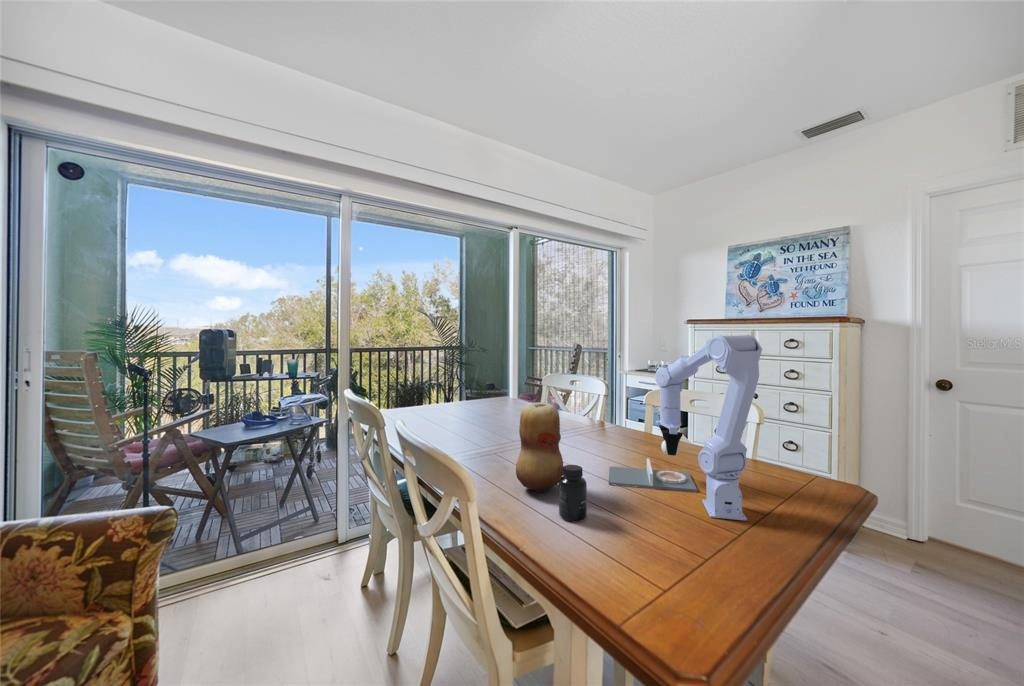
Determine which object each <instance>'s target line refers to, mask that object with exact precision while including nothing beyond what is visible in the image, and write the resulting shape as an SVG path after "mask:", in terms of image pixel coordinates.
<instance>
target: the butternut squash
mask: <svg viewBox="0 0 1024 686" xmlns="http://www.w3.org/2000/svg"><path fill="white" fill-rule="evenodd" d="M560 420H561V419H560V414H559V410H558V409H557V408H556V407H555V406H554V405H553V404H551V403H548V402H546V401H545V402H532V403H529V404H527V405H526V406H524V407H523V408H522V410H521V412H520V419H519V427H518V429H519V430H518V431H519V433H518V434H519V439H520V452H519V454H518V457H517V460H516V464H515V476H516V478H517V481H518V482H519V483H520V484H521V486H522V487H524V488H527V489H530V490H533V491H535V490H536V492H537V491H543V492H547V491H546V490H551V489H552V488H554V487H555V486H558V485H559V480H560V478H562V477H563V475H562V472H563V467H564V460H563V456H562V454H561V450H560V445H559V444H560V441H561V438H562V436H561V426H560V425H561V421H560Z"/></svg>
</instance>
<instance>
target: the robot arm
mask: <svg viewBox="0 0 1024 686" xmlns="http://www.w3.org/2000/svg"><path fill="white" fill-rule="evenodd" d="M762 353H763V348H762V346H761V345H760V343H759V341H758V340H757V338H755V336H753V335H751V334H742V335H739V334H738V335H722V334H717V335H714V336H713V337H711V338H709V339H708V340H706V343H705V344H704V345H703V346H702V347H700V349H698V350H697V351H695V352H693V354H692V355H690V356H689V355H679V356H678V357H677V358H678V359H677V360H675V361H673V362H671V363H669V364H668V366H666V367H664V366H659V367H658V369H657V370H656V371H655V382H656V384H657V385H658V386H659V420H655V424H656V425H659V426H658V428H659V429H660V431H661V434H662V439H663V441H664V440H665V442H666V448H667V453H668V455H674V456H677V454H678V453H677V448H678V445H679V442H680V440H681V438H682V437H683V433H684V432H682V431H679V430H680V427H681V426H682V420H681V415H682V414H681V392H683V385H684V383H685V380H687V379H688V378H690V377H693V376H694V375H696V374H697V373H698V371H699V367H700V366H703V365H705V364H707V363H709V362H712V361H714V363H715V364H716V365H717V366H718V367H719V368H720V369H721V371H723V373H725V374H727V375H728V377H729V381H728V385H727V389H726V392H725V396H724V400H723V404H722V407H721V411H720V415H719V418H718V421H717V422H718V423H717V427H716V429H715V434H714V435H713V436H712V437H710V438H709V439H708V440H707V441H706V442H704V445H703V448H702V449H701V450H700V451H699V453H698V457H697V459H698V465H699V466H700V467H699V468H701V470H702V471H703V474H705V479H706V480H705V482H706V483H705V485H706V486H705V488H706V490H705V491H706V492H705V494H706V495H705V497H706V498H705V499H704V498H703V499H702V500H701V502H702V504H703V506H704V507H705V510H706V513H708V516H709V517H710V518H715V519H724V520H725V519H728V520H736V521H747V520H748V518H747V516H746V515H745V514H744V513H743V494H742V493H743V492H742V491H741V489H740V487H739V486H740V484H739V483H740V481H739V480H740V476H742V471H744V470H745V469H746V467H747V452H748V448H747V447H746V446H745V445H744V443H742V437H743V433H744V431H745V427H746V425H747V424H746V423H747V421H748V416H749V412H750V410H751V406H752V403H753V400H754V396H755V393H756V389H757V386H758V382H759V379H760V364H759V363H760V362H759V361H760V358H761V355H762ZM676 453H677V454H676ZM668 455H667V456H668Z"/></svg>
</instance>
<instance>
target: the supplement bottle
mask: <svg viewBox="0 0 1024 686" xmlns="http://www.w3.org/2000/svg"><path fill="white" fill-rule="evenodd" d="M562 475H563V476H562V478H560V480H559V483H558V514H559V517H560V516H561V517H562V518H561V517H560V518H561V519H563V520H564V519H565V521H567V520H568V522H572V521H575V522H576V523H577V521H578V522H581V521H584V520H585V519H586V518H587V515H588V502H587V501H588V487H587V486H588V484H587V480H586V478H584V477H583V475H584V474H583V466H581V465H577V464H566V465H563V472H562Z"/></svg>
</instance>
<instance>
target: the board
mask: <svg viewBox="0 0 1024 686" xmlns="http://www.w3.org/2000/svg"><path fill="white" fill-rule="evenodd" d="M650 460H651V459H650V458H646V468H634V467H621V466H609V474H608V485H609V484H616V485H627V486H626V487H628V486H637V487H636V488H640V487H644V488H643V489H651V488H657V489H656V490H663V489H665V490H664V491H667V490H668V491H677V492H678V491H679V492H687V493H688V492H690V493H698V489H697V487H696V485H695V482H694V481H693V478H692V477H691V475H690V472H688V471H677V470H676V471H675V470H664V469H663V470H662V469H652V464H651V461H650ZM616 485H615V486H616Z"/></svg>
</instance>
